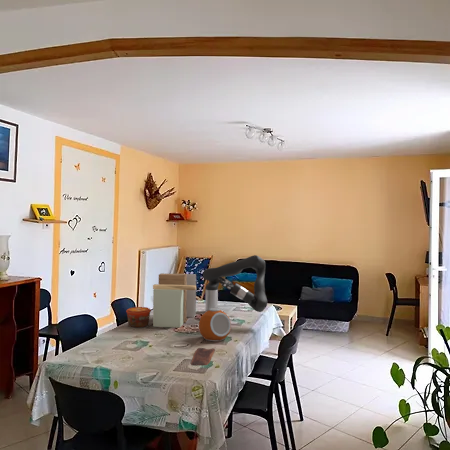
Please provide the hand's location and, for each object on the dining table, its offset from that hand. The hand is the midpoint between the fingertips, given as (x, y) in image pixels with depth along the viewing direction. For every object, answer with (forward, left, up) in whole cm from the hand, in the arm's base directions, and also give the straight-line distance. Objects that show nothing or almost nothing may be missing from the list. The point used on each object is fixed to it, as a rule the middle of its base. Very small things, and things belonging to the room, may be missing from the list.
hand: (217, 278), depth 279 cm
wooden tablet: (+63, 0, -32) cm, 70 cm away
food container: (+6, -51, -32) cm, 61 cm away
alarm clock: (+28, +2, -32) cm, 42 cm away
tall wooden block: (-10, -32, -31) cm, 46 cm away
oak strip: (+2, -28, -7) cm, 29 cm away
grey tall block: (-25, -26, -32) cm, 48 cm away
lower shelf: (+2, -32, -31) cm, 45 cm away
